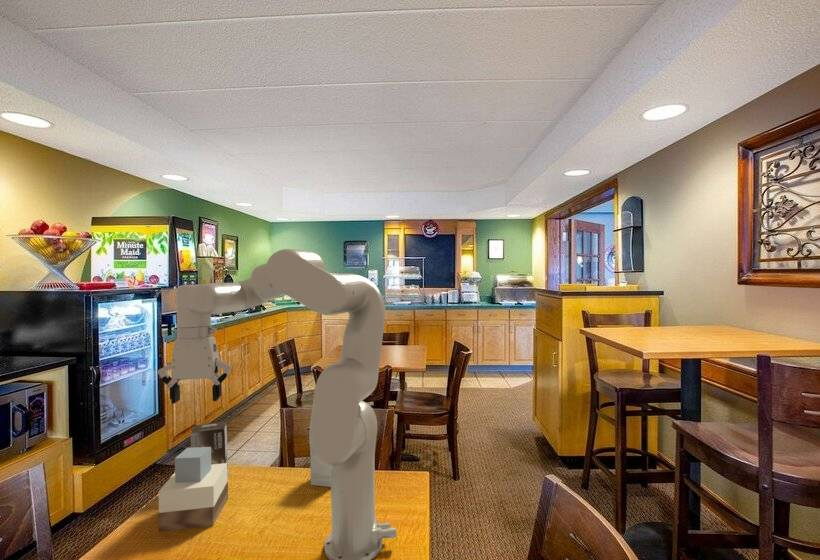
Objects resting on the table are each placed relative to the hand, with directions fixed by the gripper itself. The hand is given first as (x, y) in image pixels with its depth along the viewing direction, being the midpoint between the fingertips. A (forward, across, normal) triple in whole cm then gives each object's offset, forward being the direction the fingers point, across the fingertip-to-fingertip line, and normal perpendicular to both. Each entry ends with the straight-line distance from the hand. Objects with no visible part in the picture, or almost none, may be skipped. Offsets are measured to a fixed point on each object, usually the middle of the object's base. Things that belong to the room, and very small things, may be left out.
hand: (196, 400), depth 100 cm
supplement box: (+29, -31, -12) cm, 44 cm away
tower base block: (+29, +1, 0) cm, 29 cm away
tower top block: (+24, +1, 0) cm, 24 cm away
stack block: (+19, +1, 0) cm, 19 cm away
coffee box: (+29, +3, -17) cm, 33 cm away
